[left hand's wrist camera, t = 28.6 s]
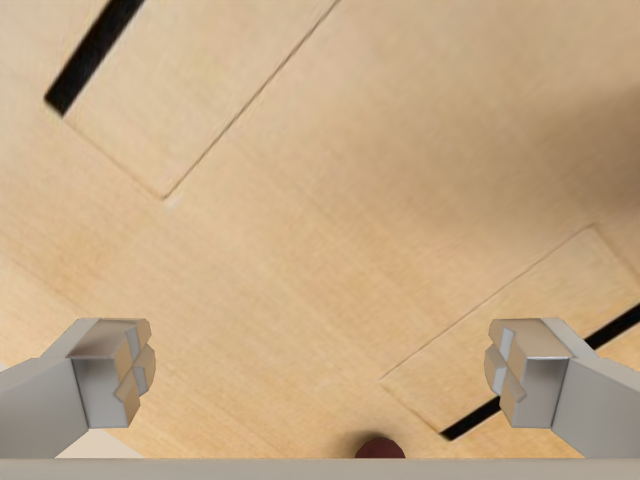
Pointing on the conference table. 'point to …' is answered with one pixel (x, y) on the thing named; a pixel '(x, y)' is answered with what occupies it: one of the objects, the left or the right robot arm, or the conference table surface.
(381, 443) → the potato
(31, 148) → the conference table surface
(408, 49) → the conference table surface
